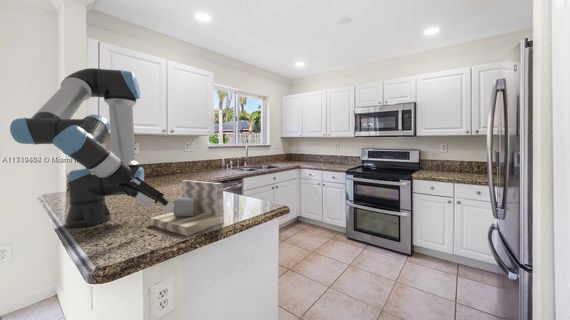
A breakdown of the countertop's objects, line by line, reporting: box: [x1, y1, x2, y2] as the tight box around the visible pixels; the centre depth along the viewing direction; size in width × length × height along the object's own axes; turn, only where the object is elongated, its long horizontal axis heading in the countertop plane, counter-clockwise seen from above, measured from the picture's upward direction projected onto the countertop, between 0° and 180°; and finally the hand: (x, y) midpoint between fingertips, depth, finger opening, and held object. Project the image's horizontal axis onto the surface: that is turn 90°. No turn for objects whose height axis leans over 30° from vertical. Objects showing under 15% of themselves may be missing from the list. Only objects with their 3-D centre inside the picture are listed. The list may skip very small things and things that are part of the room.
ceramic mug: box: [172, 197, 198, 217], centre depth 99 cm, size 11×8×8 cm
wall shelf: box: [148, 179, 225, 237], centre depth 97 cm, size 24×17×16 cm
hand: (160, 206), depth 88 cm, fingers open, 13 cm apart
